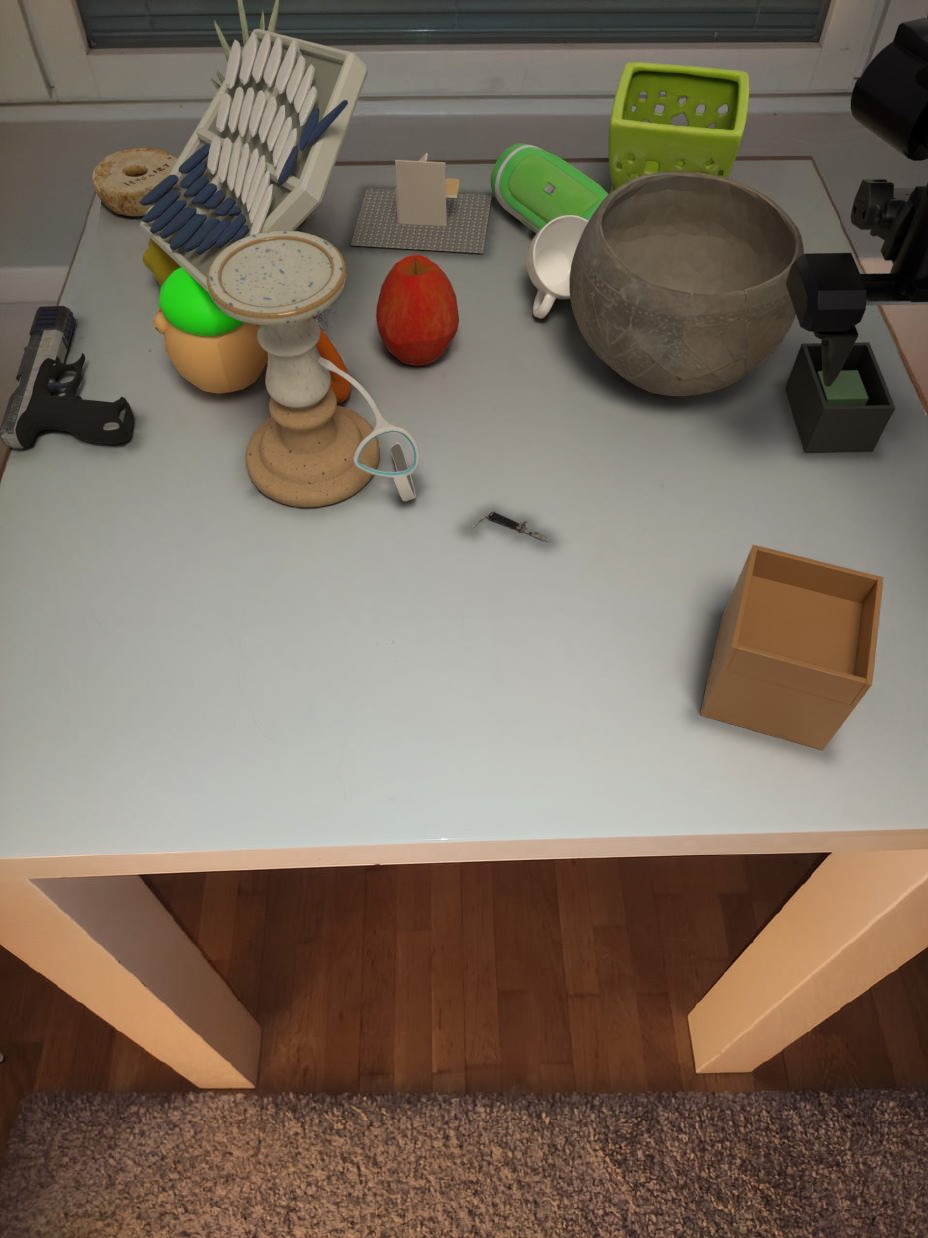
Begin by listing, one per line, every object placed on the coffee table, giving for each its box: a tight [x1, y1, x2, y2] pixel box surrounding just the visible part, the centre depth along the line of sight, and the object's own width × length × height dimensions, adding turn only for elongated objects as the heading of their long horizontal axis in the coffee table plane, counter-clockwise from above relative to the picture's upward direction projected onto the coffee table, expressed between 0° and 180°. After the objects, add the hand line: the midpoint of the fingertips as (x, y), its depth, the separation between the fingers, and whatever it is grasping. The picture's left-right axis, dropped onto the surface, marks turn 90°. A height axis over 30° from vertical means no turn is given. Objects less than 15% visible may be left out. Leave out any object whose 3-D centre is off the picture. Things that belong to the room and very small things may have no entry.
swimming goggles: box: [318, 357, 421, 502], centre depth 78 cm, size 14×8×6 cm
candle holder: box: [207, 230, 381, 508], centre depth 76 cm, size 12×12×20 cm
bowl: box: [569, 171, 805, 397], centre depth 86 cm, size 21×21×15 cm
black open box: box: [784, 341, 897, 454], centre depth 85 cm, size 9×6×6 cm
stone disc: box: [91, 147, 178, 217], centre depth 107 cm, size 10×4×10 cm
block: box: [816, 370, 869, 406], centre depth 86 cm, size 4×4×4 cm
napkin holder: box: [393, 152, 461, 226], centre depth 103 cm, size 3×7×7 cm, turn 84°
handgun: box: [0, 305, 135, 450], centre depth 90 cm, size 3×19×12 cm
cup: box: [526, 215, 588, 320], centre depth 95 cm, size 8×10×7 cm
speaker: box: [490, 142, 610, 234], centre depth 101 cm, size 18×7×8 cm
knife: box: [471, 510, 550, 541], centre depth 80 cm, size 6×1×3 cm
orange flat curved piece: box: [255, 324, 352, 403], centre depth 84 cm, size 10×2×15 cm
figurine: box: [153, 267, 268, 395], centre depth 86 cm, size 11×10×12 cm
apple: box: [375, 254, 460, 367], centre depth 88 cm, size 8×8×11 cm
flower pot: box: [607, 61, 750, 194], centre depth 101 cm, size 14×14×13 cm
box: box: [699, 544, 884, 751], centre depth 67 cm, size 9×9×10 cm
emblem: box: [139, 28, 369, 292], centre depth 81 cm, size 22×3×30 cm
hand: (884, 381), depth 72 cm, fingers open, 9 cm apart
